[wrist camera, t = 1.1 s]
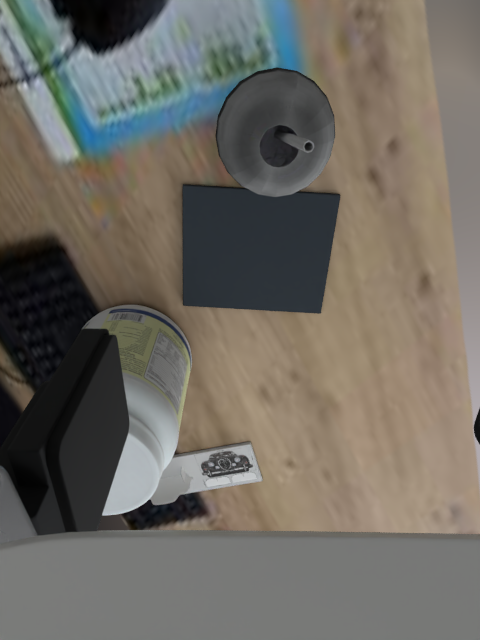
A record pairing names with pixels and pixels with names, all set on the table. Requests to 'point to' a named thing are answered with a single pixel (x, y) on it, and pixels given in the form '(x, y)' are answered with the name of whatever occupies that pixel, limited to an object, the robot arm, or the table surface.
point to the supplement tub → (146, 398)
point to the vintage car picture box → (207, 471)
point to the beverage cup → (275, 132)
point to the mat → (256, 248)
